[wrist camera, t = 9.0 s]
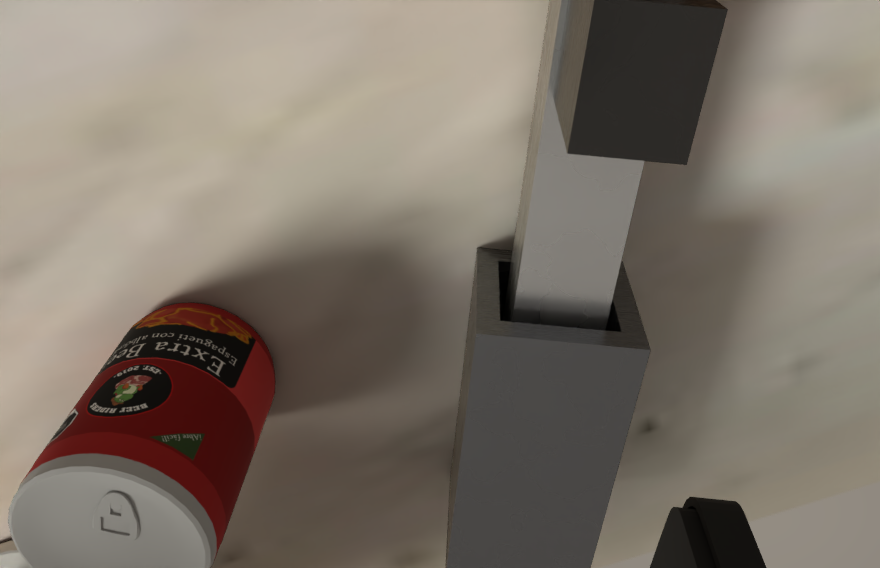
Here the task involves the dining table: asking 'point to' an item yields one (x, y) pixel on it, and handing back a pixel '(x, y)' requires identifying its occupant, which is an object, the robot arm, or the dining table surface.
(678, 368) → the dining table surface
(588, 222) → the steel bar
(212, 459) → the canned food
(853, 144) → the dining table surface
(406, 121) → the dining table surface
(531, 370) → the sleeve
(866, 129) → the dining table surface
